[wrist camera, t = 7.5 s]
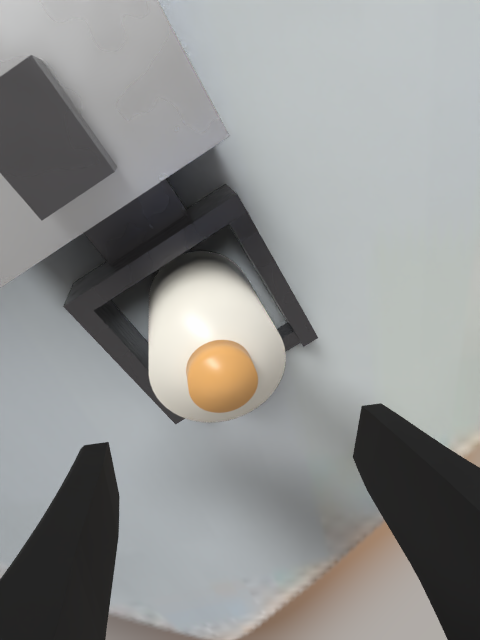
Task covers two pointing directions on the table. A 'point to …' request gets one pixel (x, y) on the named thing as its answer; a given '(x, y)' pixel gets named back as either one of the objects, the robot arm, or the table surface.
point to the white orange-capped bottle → (210, 340)
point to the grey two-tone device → (111, 160)
